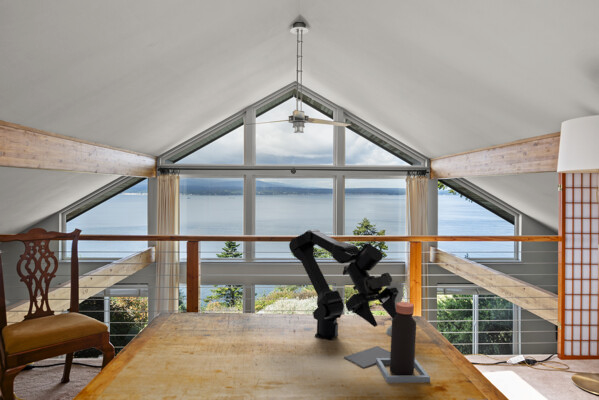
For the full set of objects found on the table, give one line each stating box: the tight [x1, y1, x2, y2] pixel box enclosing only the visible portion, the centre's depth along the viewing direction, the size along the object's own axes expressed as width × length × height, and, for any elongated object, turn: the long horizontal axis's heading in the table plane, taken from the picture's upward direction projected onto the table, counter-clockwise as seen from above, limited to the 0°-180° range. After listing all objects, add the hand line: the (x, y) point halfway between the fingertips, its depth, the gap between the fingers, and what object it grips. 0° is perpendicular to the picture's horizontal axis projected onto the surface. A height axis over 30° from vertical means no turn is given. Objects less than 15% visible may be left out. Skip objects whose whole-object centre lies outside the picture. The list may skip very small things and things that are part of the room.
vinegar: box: [389, 301, 417, 376], centre depth 121 cm, size 7×7×20 cm
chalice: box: [385, 281, 405, 337], centre depth 152 cm, size 7×7×18 cm
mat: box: [343, 345, 391, 369], centre depth 131 cm, size 8×15×1 cm, turn 127°
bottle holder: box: [375, 358, 431, 384], centre depth 122 cm, size 12×12×2 cm
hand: (386, 323), depth 126 cm, fingers open, 9 cm apart
